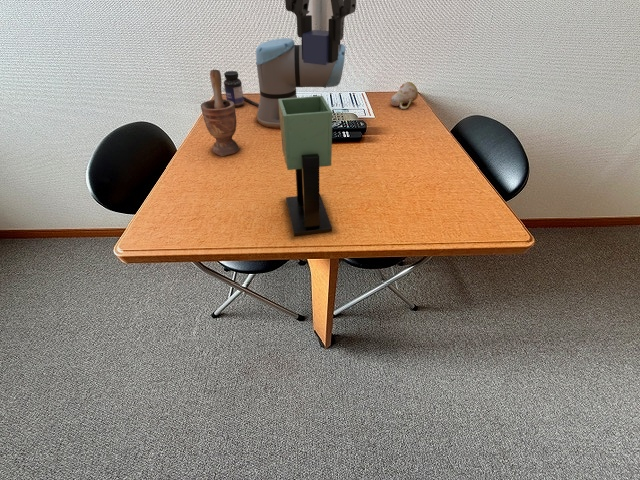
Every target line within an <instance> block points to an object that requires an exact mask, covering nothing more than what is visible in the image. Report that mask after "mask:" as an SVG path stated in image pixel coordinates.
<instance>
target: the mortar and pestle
mask: <svg viewBox="0 0 640 480" xmlns="http://www.w3.org/2000/svg"><path fill="white" fill-rule="evenodd" d="M209 77H210V78H209V79H210V85H211V89H212V92H213V98H214V99H210V100H206V101H204V102H202V103H201V104H200V109H201V112H202V117H203V121H204V125H205V127H206V129H207V131H208V133H209V135H210V136H211V137H213V138H214V139H215V142H214V143H213V145H212V152H213V153H214V154H215V155H218V156H220V157H225V156H229V155H232V154H233V155H234V154H236V153H238V151H239V150H240V147H239V145H238V143H237V142H236V141H235V139H233V137H234V135H235V133H236V132H237V131H236V130H237V115H236V107H235V105H234V102H233V101H230V100H227V99H226V98H223V95H222V73H221V71H220V70H218V69H211V70H210V71H209Z"/></svg>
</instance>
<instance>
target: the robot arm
mask: <svg viewBox="0 0 640 480" xmlns="http://www.w3.org/2000/svg"><path fill="white" fill-rule="evenodd" d="M284 3H285V4H284V5H285V10H286V11H287V12H291V13H292V14H294V15H295V17H296V32H297V33H296V34H297V37H298V38H300V39H301V41H300V43H301V44H296V43H295V40H294V39H293V38H291V37H290V38H289V37H288V38H286V37H284V38H275V39H271V40H267V41H264V42H262V43H260V44H258V45H257V47H256V49H255V65H256V69H257V80H258V87H259V102H258V103H257V102H255V101H253V100H251V99H249V98H247V97H245V96H243V98H244V101H245V102H248V103H250V104H251V105H254V106H256V107H258V108H257V113H256V118H257V122H258V124H260V125H261V126H264V127H267V128H273V129H281V128H280V115H279V103H278V99H284V98H298V95H297V88H323V89H326V88H334V87H338V86H339V85H340V83H341V81H342V76H343V71H344V65H345V55H346V45H345V44H343V43H341V42H342V41H343V38H344V34H345V33H344V32H345V31H344V29H345V18H346V16H349V15H352V14H354V13H355V12H356V10H357V0H284ZM312 30H322V31H328V35H329V50H328V63H329V64H327V65H319V64H311V63H303V34H304V33H307V32H310V31H312Z"/></svg>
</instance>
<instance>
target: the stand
mask: <svg viewBox="0 0 640 480" xmlns="http://www.w3.org/2000/svg"><path fill="white" fill-rule="evenodd" d="M295 187H296V196H287V197H285V203H286V206H287V211H288V215H289V220H290V226H291V230H292V234H293V237H300V236H309V235H317V234H325V233H332V232H333V226H332V224H331V221H330V218H329V215H328V212H327V209H326V207H325V204H324V201H323V199H322V196H321V194H320V167H319V155H318V154H310V155H302V169H295Z"/></svg>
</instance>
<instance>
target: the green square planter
mask: <svg viewBox="0 0 640 480" xmlns="http://www.w3.org/2000/svg"><path fill="white" fill-rule="evenodd" d="M278 103H279V115H280V128H279V129H280V137H281V150H282V154H283V157H284V158H283V159H284V162H285V165H286V170H287V171H294V170H295V169H302V155H310V154H318V155H319V168H321V167H332V155H333V153H332V151H333V150H332V149H333V111H332V109H331V107H330V106H329V104H328V103H327V100H325V98H324V96H323V95H316V96H315V95H314V96H312V95H311V96H302V97H301V96H297V98H284V99H278Z"/></svg>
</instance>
